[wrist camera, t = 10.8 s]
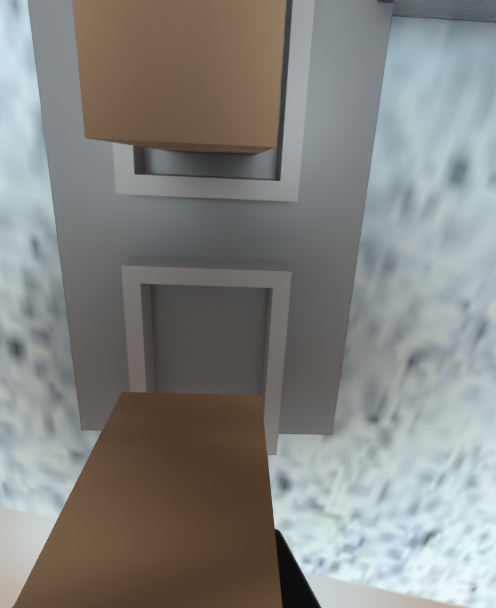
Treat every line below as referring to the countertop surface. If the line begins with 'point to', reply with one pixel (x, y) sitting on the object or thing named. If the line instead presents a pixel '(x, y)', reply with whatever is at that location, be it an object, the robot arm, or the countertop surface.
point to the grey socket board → (219, 230)
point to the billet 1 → (181, 73)
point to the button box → (446, 9)
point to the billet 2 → (166, 512)
